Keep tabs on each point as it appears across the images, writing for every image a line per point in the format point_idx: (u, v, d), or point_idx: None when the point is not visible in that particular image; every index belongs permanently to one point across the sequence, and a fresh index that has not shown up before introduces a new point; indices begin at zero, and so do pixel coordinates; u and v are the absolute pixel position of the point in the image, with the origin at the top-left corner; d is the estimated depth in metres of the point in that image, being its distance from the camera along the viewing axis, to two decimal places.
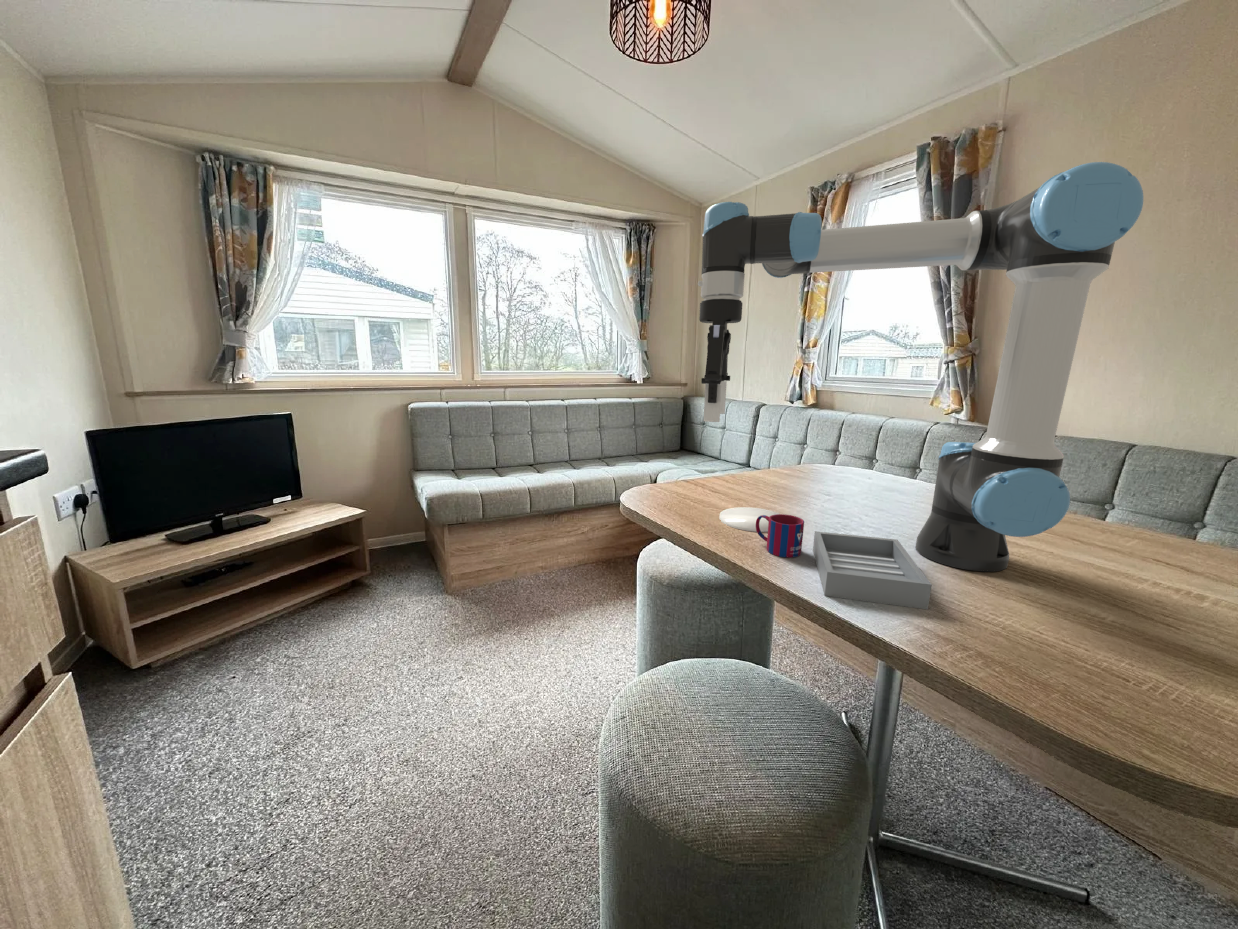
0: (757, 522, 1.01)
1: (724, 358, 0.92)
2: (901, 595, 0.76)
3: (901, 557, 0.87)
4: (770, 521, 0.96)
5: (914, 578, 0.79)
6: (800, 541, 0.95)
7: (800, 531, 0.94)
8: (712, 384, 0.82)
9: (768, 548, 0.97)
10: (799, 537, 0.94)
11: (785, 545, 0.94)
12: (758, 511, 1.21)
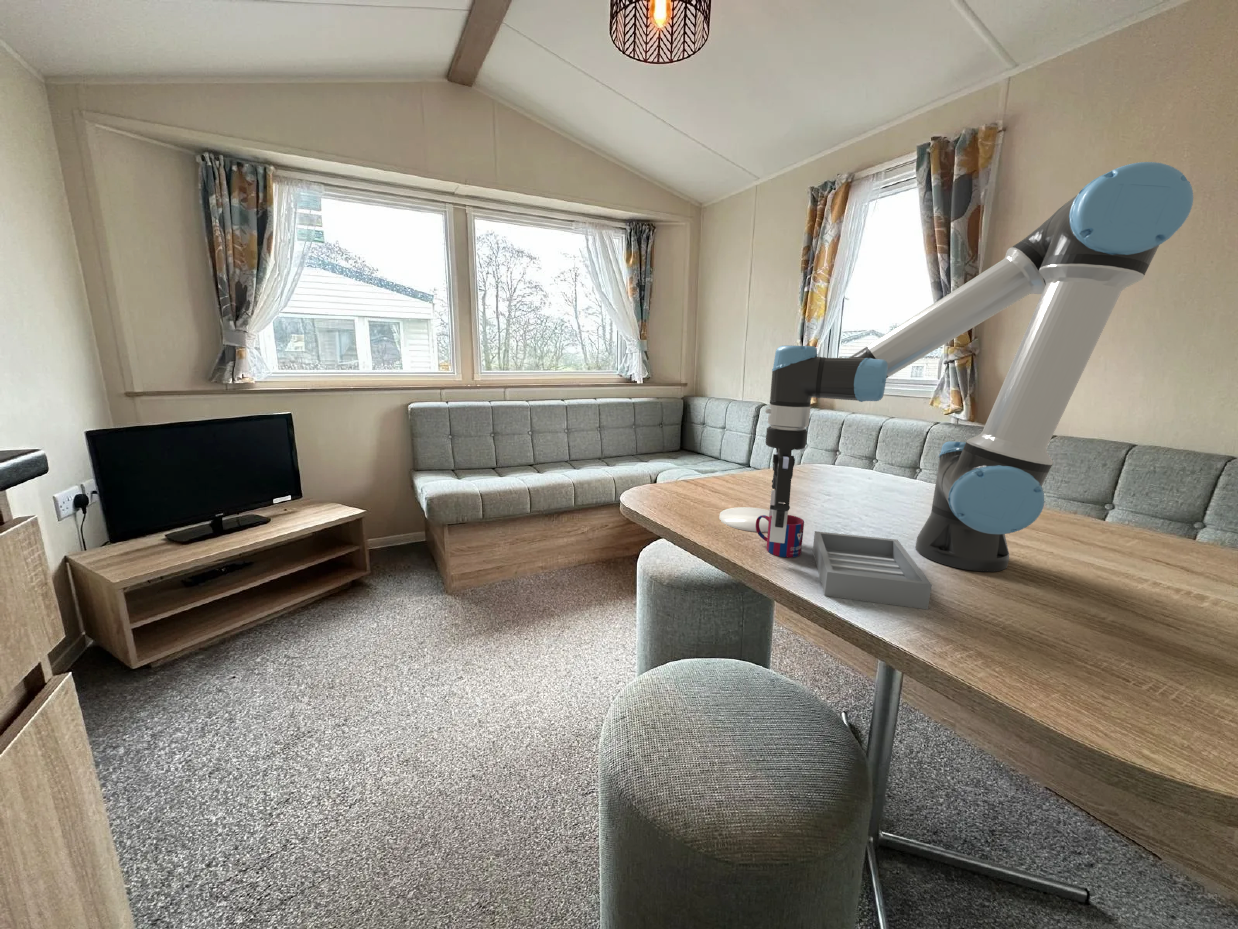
0: (757, 522, 1.01)
1: None
2: (901, 595, 0.76)
3: (901, 557, 0.87)
4: (770, 521, 0.96)
5: (914, 578, 0.79)
6: (800, 541, 0.95)
7: (800, 531, 0.94)
8: (780, 511, 0.89)
9: (768, 548, 0.97)
10: (799, 537, 0.94)
11: (785, 545, 0.94)
12: (758, 511, 1.21)
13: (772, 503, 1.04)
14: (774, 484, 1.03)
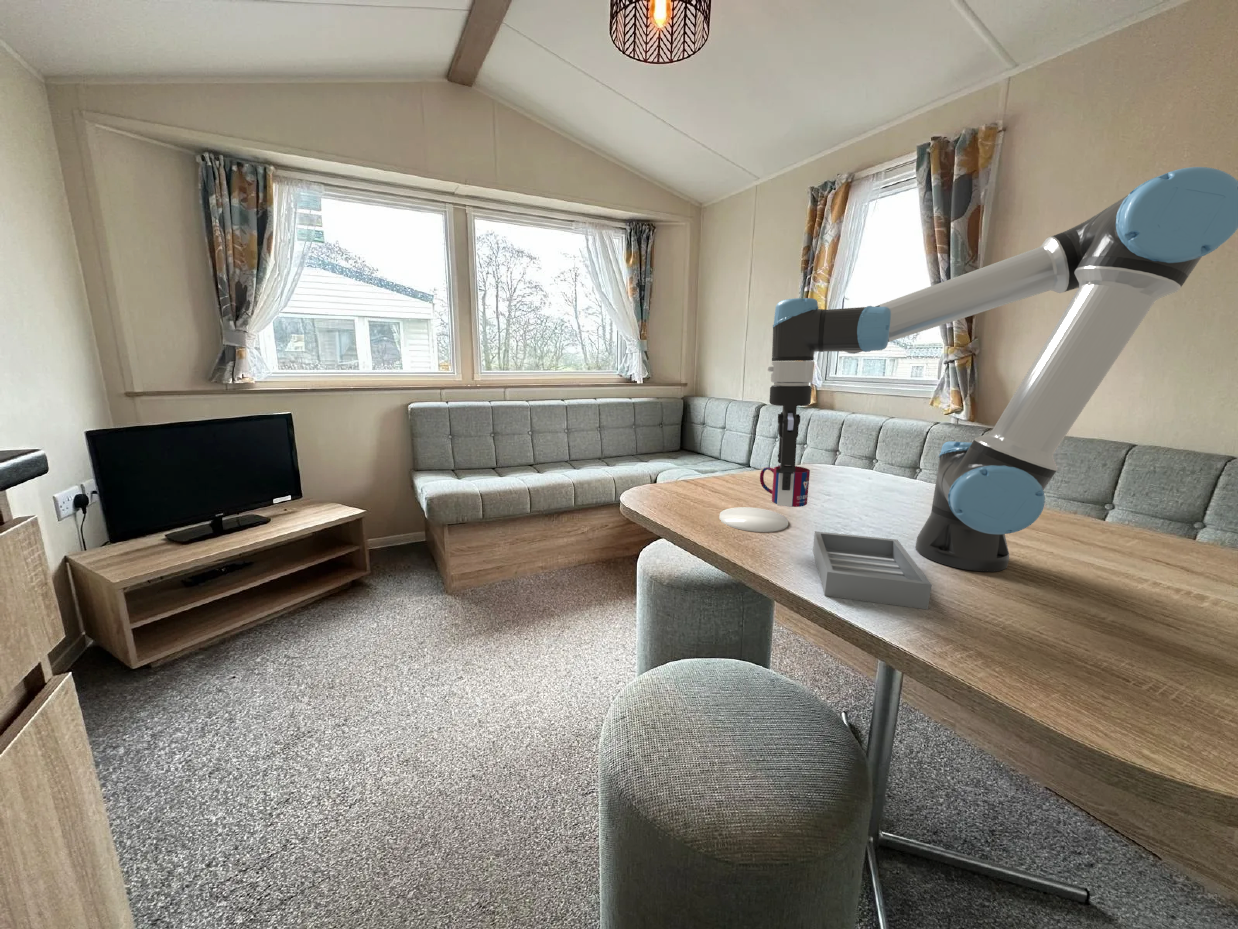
0: (761, 475, 1.00)
1: None
2: (901, 595, 0.76)
3: (901, 557, 0.87)
4: (775, 471, 0.95)
5: (914, 578, 0.79)
6: (806, 490, 0.94)
7: (806, 479, 0.93)
8: (786, 474, 0.90)
9: (774, 499, 0.96)
10: (805, 485, 0.93)
11: None
12: (758, 511, 1.21)
13: None
14: (780, 455, 0.99)
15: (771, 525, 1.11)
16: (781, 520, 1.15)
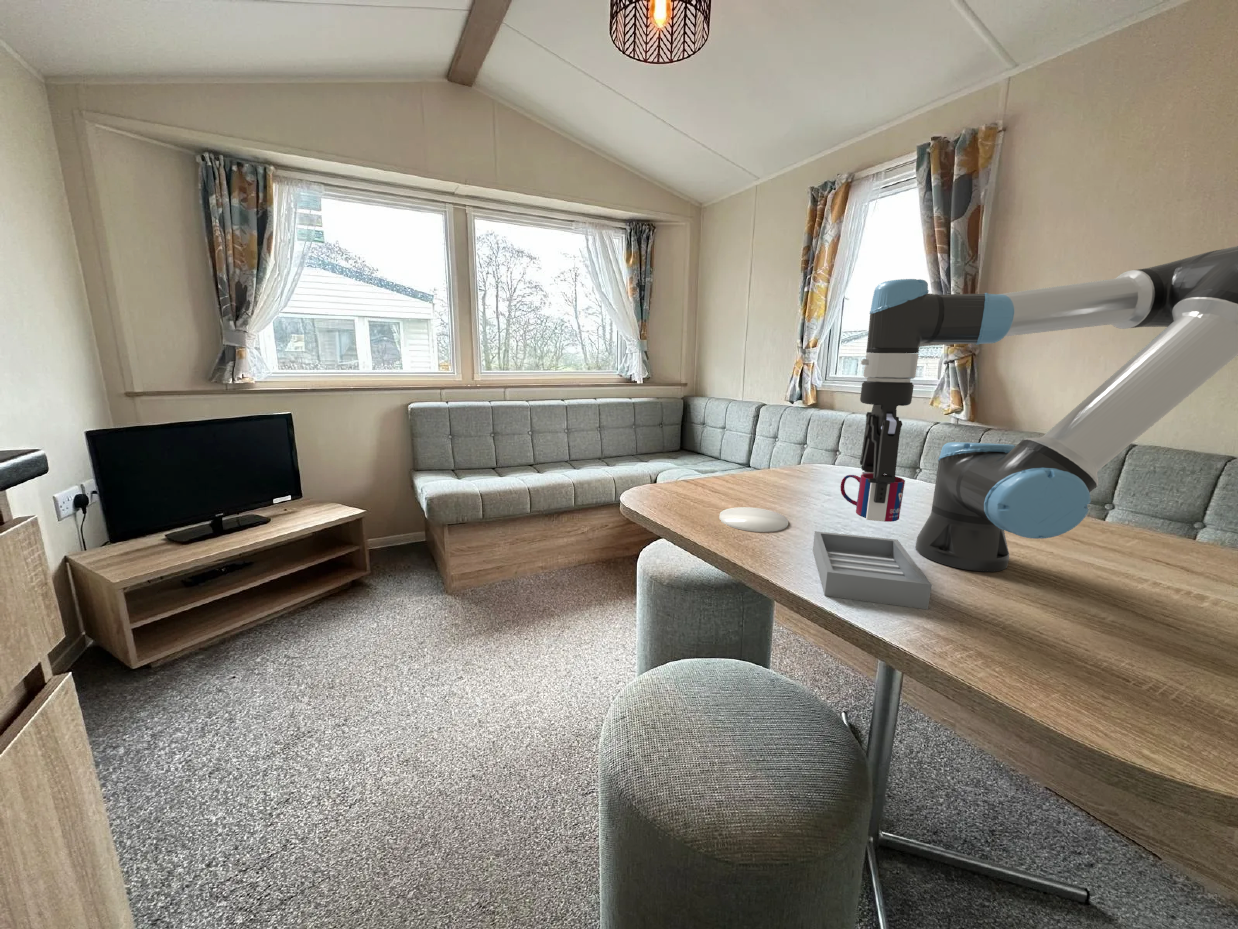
0: (843, 483, 0.87)
1: None
2: (901, 595, 0.76)
3: (901, 557, 0.87)
4: (864, 479, 0.82)
5: (914, 578, 0.79)
6: (900, 502, 0.81)
7: (901, 490, 0.80)
8: (882, 484, 0.78)
9: (860, 511, 0.83)
10: (900, 497, 0.81)
11: None
12: (758, 511, 1.21)
13: None
14: (866, 462, 0.86)
15: (771, 525, 1.11)
16: (781, 520, 1.15)
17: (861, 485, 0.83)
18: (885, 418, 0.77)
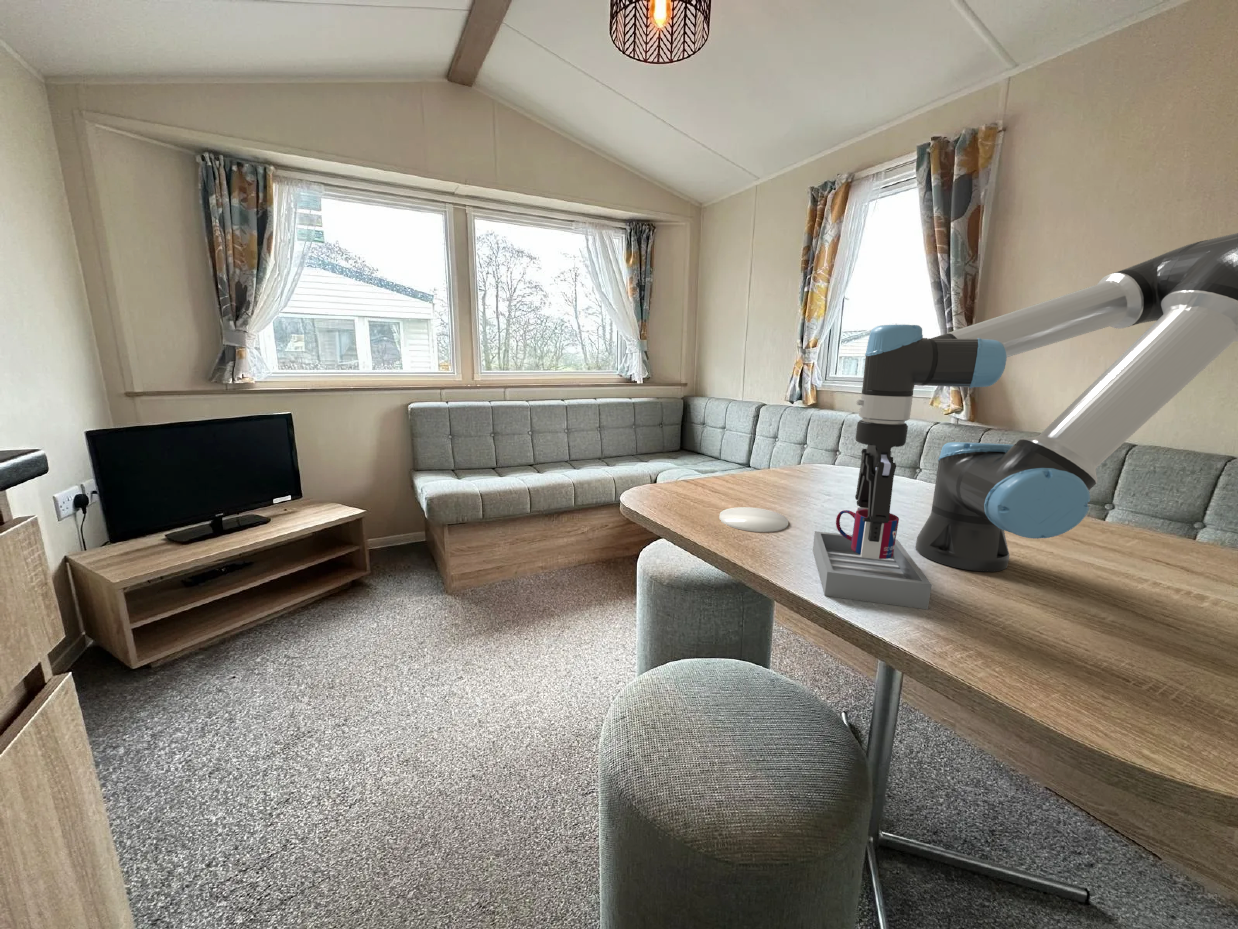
0: (838, 518, 0.89)
1: None
2: (901, 595, 0.76)
3: (901, 557, 0.87)
4: (859, 517, 0.84)
5: (914, 578, 0.79)
6: (894, 540, 0.83)
7: (895, 528, 0.82)
8: (876, 524, 0.79)
9: (855, 548, 0.85)
10: (894, 535, 0.82)
11: None
12: (758, 511, 1.21)
13: None
14: (861, 498, 0.88)
15: (771, 525, 1.11)
16: (781, 520, 1.15)
17: (856, 522, 0.85)
18: (880, 459, 0.78)
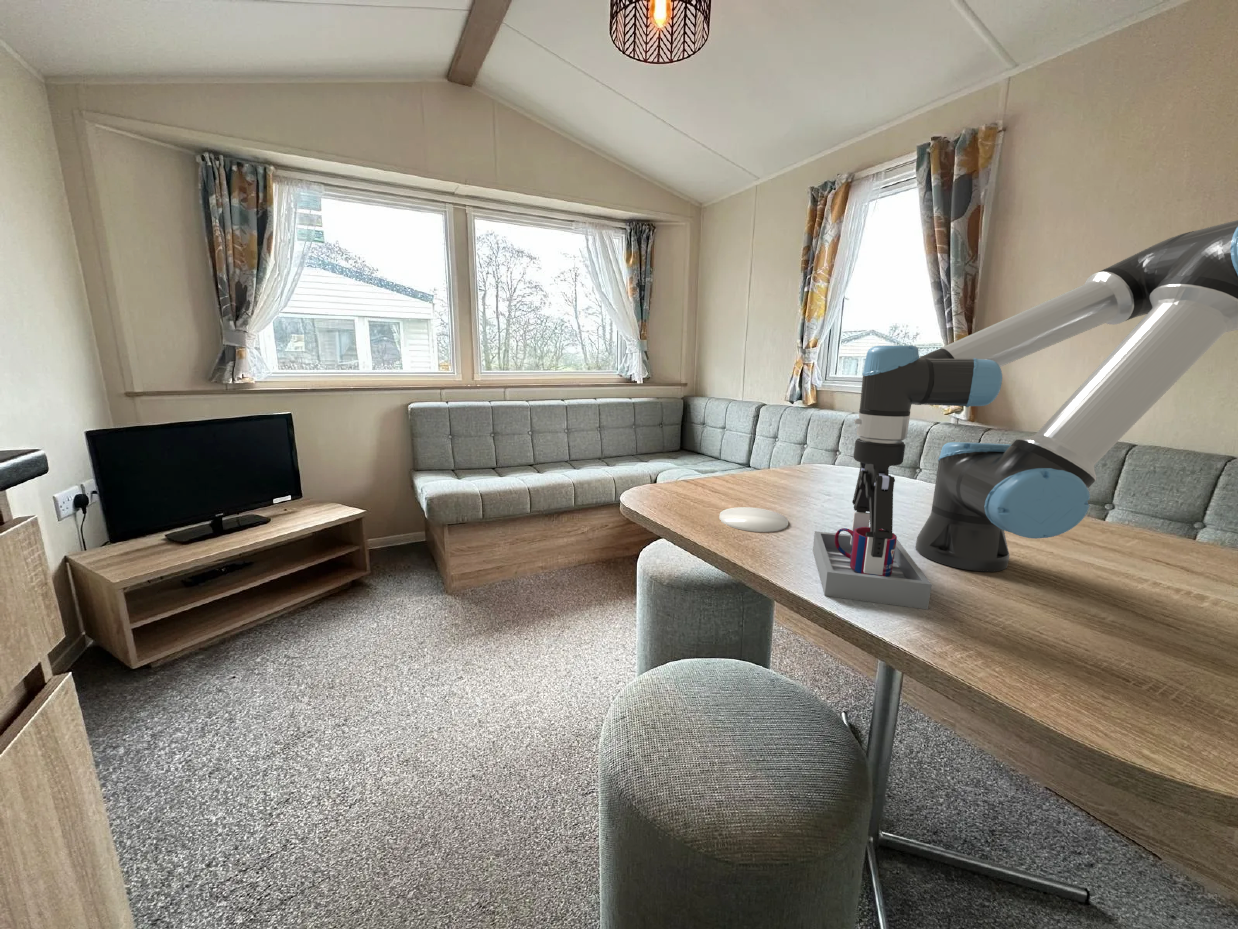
0: (837, 536, 0.89)
1: None
2: (901, 595, 0.76)
3: (901, 557, 0.87)
4: (857, 536, 0.84)
5: (914, 578, 0.79)
6: (893, 558, 0.83)
7: (894, 547, 0.83)
8: (879, 539, 0.77)
9: (854, 566, 0.85)
10: (892, 554, 0.83)
11: None
12: (758, 511, 1.21)
13: (855, 527, 0.91)
14: (858, 505, 0.90)
15: (772, 525, 1.11)
16: (781, 520, 1.15)
17: (854, 540, 0.85)
18: (878, 476, 0.79)
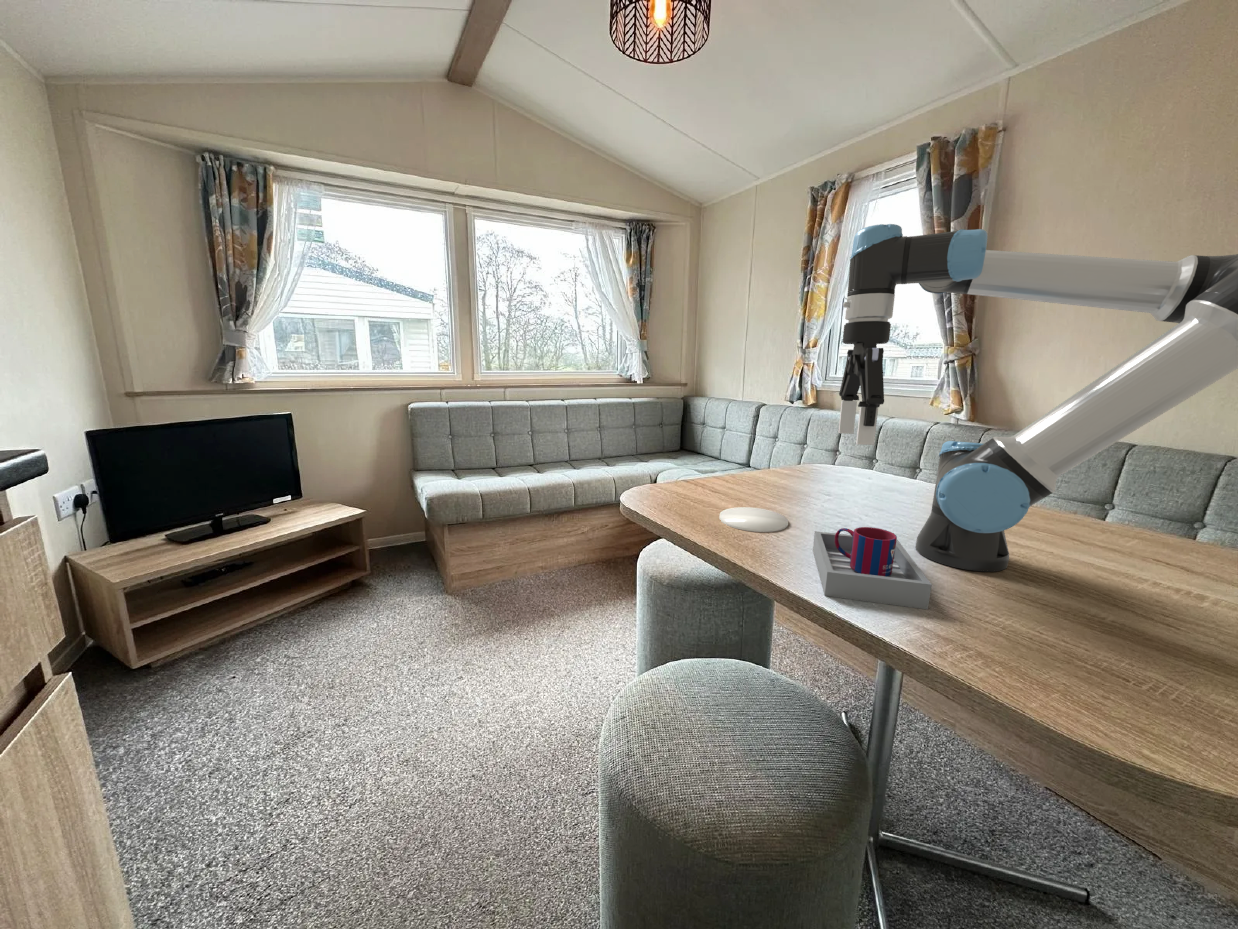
0: (837, 536, 0.89)
1: None
2: (901, 595, 0.76)
3: (901, 557, 0.87)
4: (857, 536, 0.84)
5: (914, 578, 0.79)
6: (893, 558, 0.83)
7: (894, 547, 0.83)
8: (871, 407, 0.81)
9: (854, 566, 0.85)
10: (892, 554, 0.83)
11: (877, 563, 0.82)
12: (758, 511, 1.21)
13: (843, 415, 0.96)
14: (845, 393, 0.95)
15: (771, 525, 1.11)
16: (781, 520, 1.15)
17: (854, 540, 0.85)
18: None
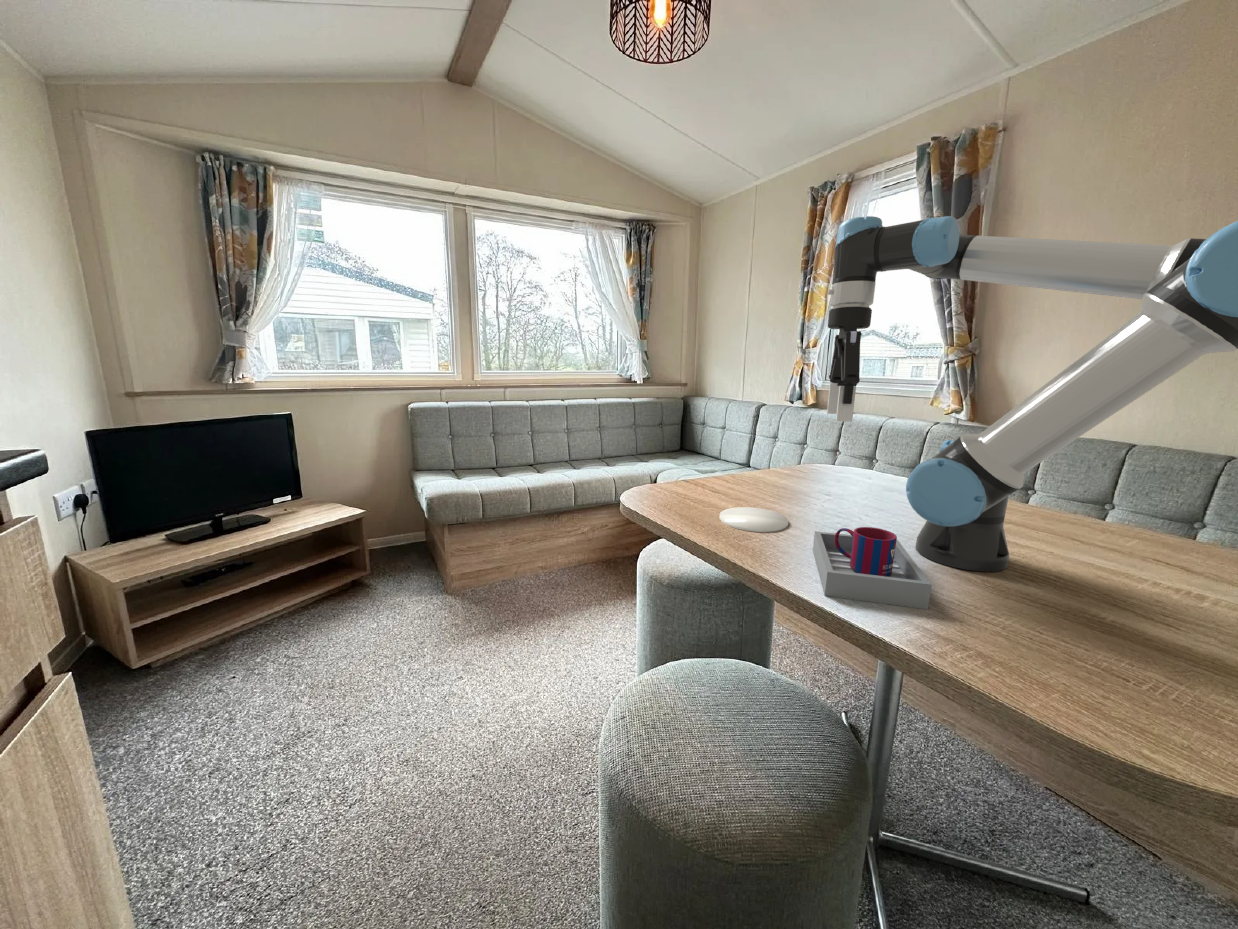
0: (837, 536, 0.89)
1: None
2: (901, 595, 0.76)
3: (901, 557, 0.87)
4: (857, 536, 0.84)
5: (914, 578, 0.79)
6: (893, 558, 0.83)
7: (894, 547, 0.83)
8: (849, 386, 0.88)
9: (854, 566, 0.85)
10: (892, 554, 0.83)
11: (877, 563, 0.82)
12: (758, 511, 1.21)
13: (831, 396, 1.03)
14: (833, 376, 1.02)
15: (771, 525, 1.11)
16: (781, 520, 1.15)
17: (854, 540, 0.85)
18: None
